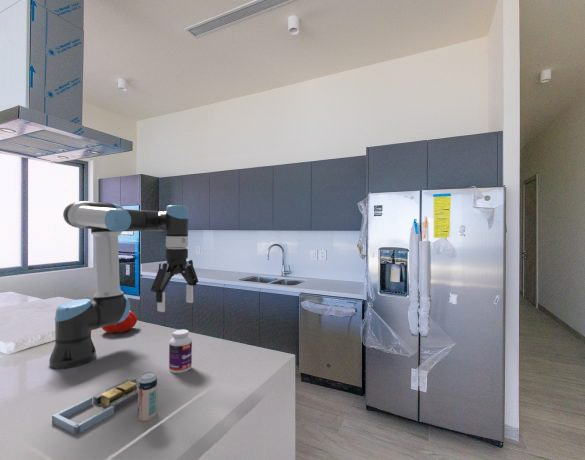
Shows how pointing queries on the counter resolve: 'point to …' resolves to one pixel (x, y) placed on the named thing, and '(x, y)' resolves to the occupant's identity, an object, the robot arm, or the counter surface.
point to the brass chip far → (127, 387)
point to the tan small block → (110, 397)
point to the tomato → (122, 324)
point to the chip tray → (77, 428)
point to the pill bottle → (180, 352)
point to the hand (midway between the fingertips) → (176, 306)
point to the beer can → (147, 396)
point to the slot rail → (121, 401)
